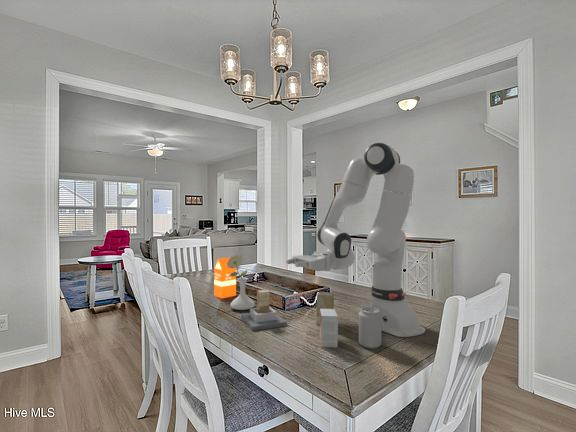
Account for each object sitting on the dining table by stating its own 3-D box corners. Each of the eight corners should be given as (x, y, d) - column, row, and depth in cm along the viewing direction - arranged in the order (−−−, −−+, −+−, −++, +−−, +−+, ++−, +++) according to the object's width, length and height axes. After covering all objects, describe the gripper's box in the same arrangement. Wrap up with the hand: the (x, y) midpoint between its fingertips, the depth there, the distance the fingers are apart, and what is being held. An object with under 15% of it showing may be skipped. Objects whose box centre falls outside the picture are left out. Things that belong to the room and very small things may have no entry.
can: (379, 340, 108) (379, 306, 108) (383, 350, 101) (383, 313, 101) (357, 339, 109) (357, 305, 109) (359, 349, 102) (360, 312, 102)
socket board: (286, 325, 122) (286, 314, 122) (252, 330, 117) (252, 318, 117) (272, 313, 137) (272, 303, 137) (241, 317, 132) (241, 306, 131)
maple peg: (269, 318, 126) (269, 291, 126) (260, 319, 124) (260, 292, 124) (266, 315, 130) (266, 289, 129) (256, 316, 128) (257, 290, 128)
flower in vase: (252, 303, 151) (252, 252, 151) (257, 310, 140) (257, 255, 140) (224, 306, 147) (225, 253, 147) (228, 313, 136) (228, 256, 136)
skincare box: (315, 324, 124) (316, 293, 124) (318, 321, 128) (318, 291, 128) (331, 326, 122) (332, 295, 121) (334, 323, 126) (334, 292, 125)
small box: (319, 337, 111) (319, 308, 111) (335, 338, 111) (335, 308, 111) (320, 347, 103) (321, 315, 103) (337, 347, 103) (338, 316, 103)
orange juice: (213, 295, 166) (214, 257, 166) (228, 292, 172) (228, 256, 172) (221, 298, 160) (221, 259, 160) (236, 295, 166) (236, 257, 166)
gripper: (309, 251, 146) (281, 253, 141) (331, 256, 128) (301, 258, 122) (309, 265, 146) (282, 267, 141) (332, 271, 128) (301, 274, 122)
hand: (291, 263), depth 131 cm, fingers open, 8 cm apart
